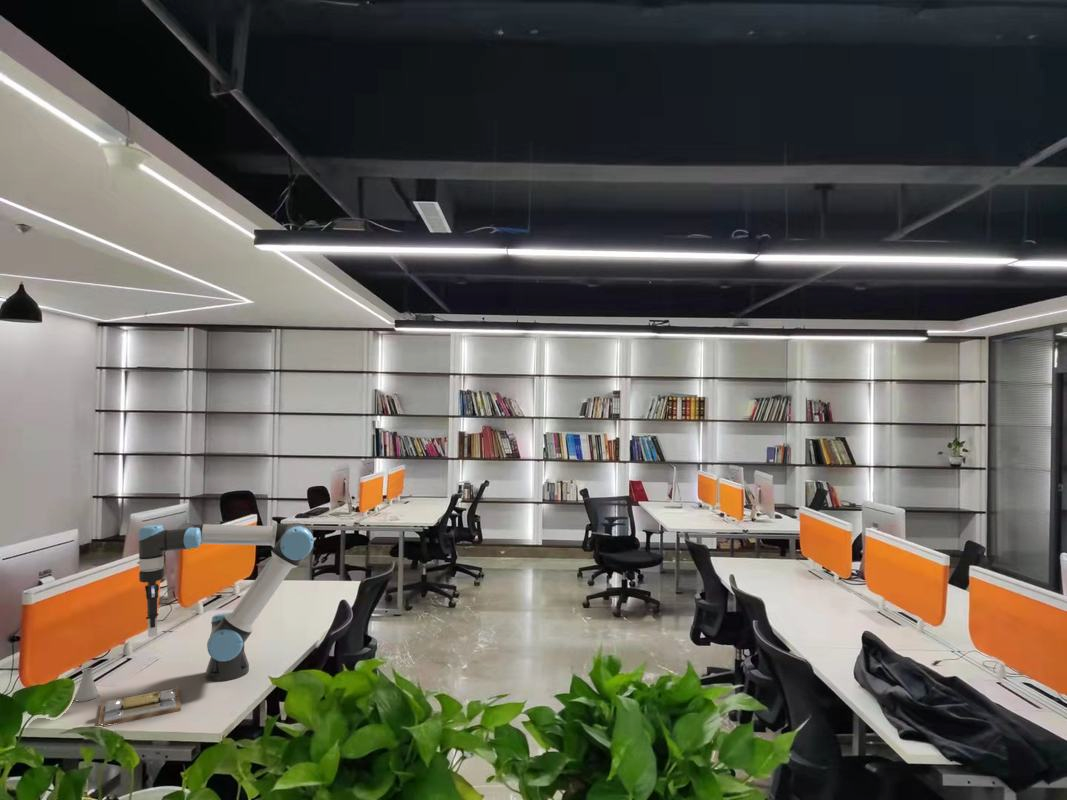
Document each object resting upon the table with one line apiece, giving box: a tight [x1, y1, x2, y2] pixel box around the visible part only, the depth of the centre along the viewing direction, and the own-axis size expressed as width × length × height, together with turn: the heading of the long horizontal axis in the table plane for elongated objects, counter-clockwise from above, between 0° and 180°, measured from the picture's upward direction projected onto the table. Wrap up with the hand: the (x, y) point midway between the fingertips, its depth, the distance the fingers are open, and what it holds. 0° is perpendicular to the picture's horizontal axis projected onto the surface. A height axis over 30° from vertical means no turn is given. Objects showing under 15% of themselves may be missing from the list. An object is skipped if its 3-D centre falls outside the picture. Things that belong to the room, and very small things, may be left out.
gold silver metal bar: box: [122, 691, 160, 710], centre depth 216 cm, size 20×8×4 cm, turn 121°
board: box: [97, 686, 182, 728], centre depth 217 cm, size 23×20×1 cm
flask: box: [73, 667, 100, 703], centre depth 225 cm, size 7×7×10 cm
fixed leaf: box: [103, 688, 177, 722], centre depth 212 cm, size 21×8×4 cm, turn 121°
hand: (152, 635), depth 226 cm, fingers closed
